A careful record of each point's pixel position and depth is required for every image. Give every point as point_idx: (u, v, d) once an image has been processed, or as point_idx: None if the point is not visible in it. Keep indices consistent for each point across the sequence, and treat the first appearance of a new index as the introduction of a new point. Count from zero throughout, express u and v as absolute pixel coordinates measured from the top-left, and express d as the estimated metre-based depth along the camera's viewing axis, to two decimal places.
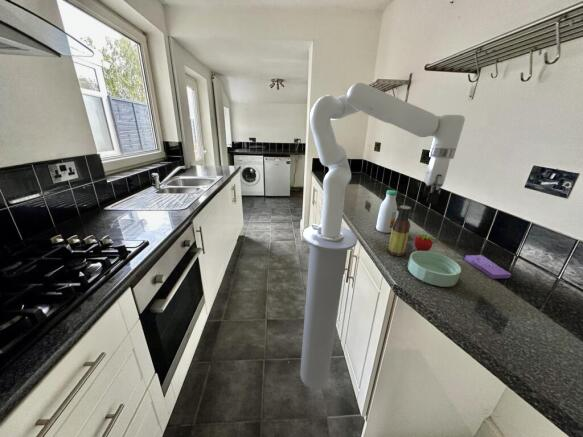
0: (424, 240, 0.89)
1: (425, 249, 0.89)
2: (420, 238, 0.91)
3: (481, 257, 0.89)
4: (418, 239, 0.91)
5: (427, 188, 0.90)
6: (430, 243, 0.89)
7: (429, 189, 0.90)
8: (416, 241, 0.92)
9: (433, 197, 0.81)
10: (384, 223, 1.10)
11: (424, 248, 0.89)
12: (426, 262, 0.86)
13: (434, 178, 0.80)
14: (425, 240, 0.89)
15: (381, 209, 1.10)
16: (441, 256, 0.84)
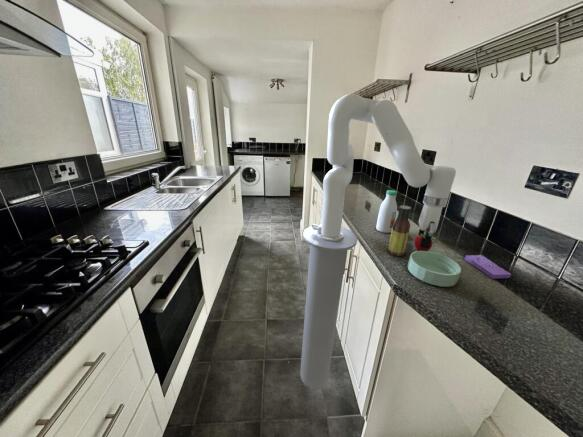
0: None
1: (425, 249, 0.89)
2: (420, 238, 0.91)
3: (481, 257, 0.89)
4: (418, 239, 0.91)
5: (421, 231, 0.94)
6: None
7: (423, 232, 0.94)
8: (416, 241, 0.92)
9: (426, 242, 0.87)
10: (384, 223, 1.10)
11: (424, 248, 0.89)
12: (426, 262, 0.86)
13: (427, 224, 0.84)
14: None
15: (381, 209, 1.10)
16: (441, 256, 0.84)
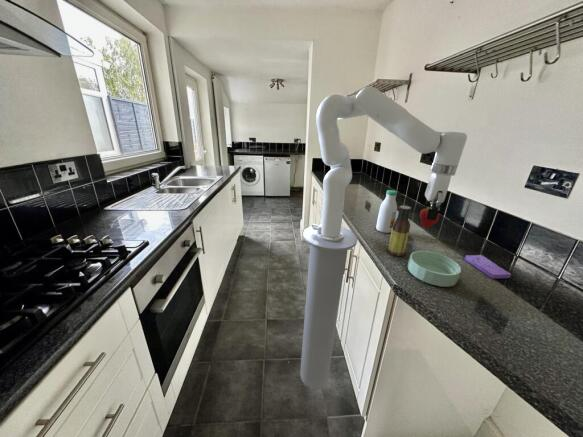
0: None
1: (431, 222, 0.85)
2: (426, 211, 0.87)
3: (481, 257, 0.89)
4: (424, 212, 0.87)
5: (427, 204, 0.90)
6: None
7: (429, 205, 0.90)
8: (422, 214, 0.87)
9: (432, 213, 0.83)
10: (384, 223, 1.10)
11: (430, 221, 0.85)
12: (426, 262, 0.86)
13: (435, 194, 0.80)
14: None
15: (381, 209, 1.10)
16: (441, 256, 0.84)
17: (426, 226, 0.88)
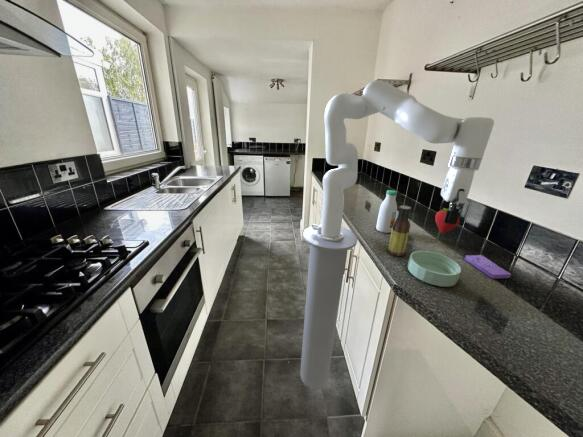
0: None
1: (450, 226, 0.72)
2: (444, 213, 0.73)
3: (481, 257, 0.89)
4: (441, 214, 0.73)
5: (444, 205, 0.77)
6: None
7: (446, 206, 0.76)
8: (438, 217, 0.74)
9: (452, 216, 0.69)
10: (384, 223, 1.10)
11: (449, 225, 0.72)
12: (426, 262, 0.86)
13: (455, 193, 0.67)
14: None
15: (381, 209, 1.10)
16: (441, 256, 0.84)
17: (443, 231, 0.75)
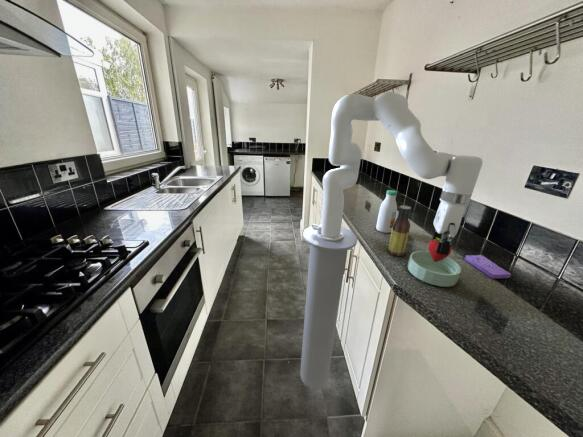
0: None
1: (442, 256, 0.75)
2: (436, 243, 0.76)
3: (481, 257, 0.89)
4: (434, 244, 0.76)
5: (437, 234, 0.79)
6: None
7: (439, 235, 0.79)
8: (431, 246, 0.77)
9: (444, 248, 0.72)
10: (384, 223, 1.10)
11: (441, 255, 0.75)
12: (426, 262, 0.86)
13: (446, 226, 0.70)
14: None
15: (381, 209, 1.10)
16: None
17: (436, 260, 0.77)
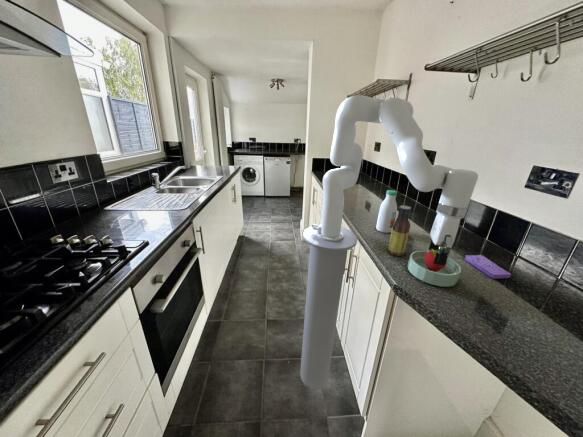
0: None
1: (438, 268, 0.76)
2: (432, 255, 0.78)
3: (481, 257, 0.89)
4: (430, 256, 0.78)
5: None
6: None
7: None
8: (427, 258, 0.79)
9: (441, 258, 0.73)
10: (384, 223, 1.10)
11: (437, 267, 0.76)
12: None
13: (442, 238, 0.71)
14: None
15: (381, 209, 1.10)
16: None
17: None
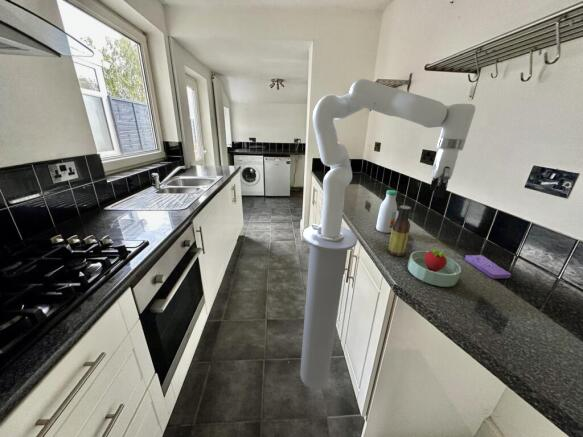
0: (437, 257, 0.76)
1: (438, 268, 0.76)
2: (432, 255, 0.78)
3: (481, 257, 0.89)
4: (430, 256, 0.78)
5: (434, 182, 0.87)
6: (444, 261, 0.76)
7: (436, 183, 0.87)
8: (427, 258, 0.79)
9: (440, 190, 0.78)
10: (384, 223, 1.10)
11: (437, 267, 0.76)
12: None
13: (441, 170, 0.77)
14: (438, 257, 0.76)
15: (381, 209, 1.10)
16: None
17: None
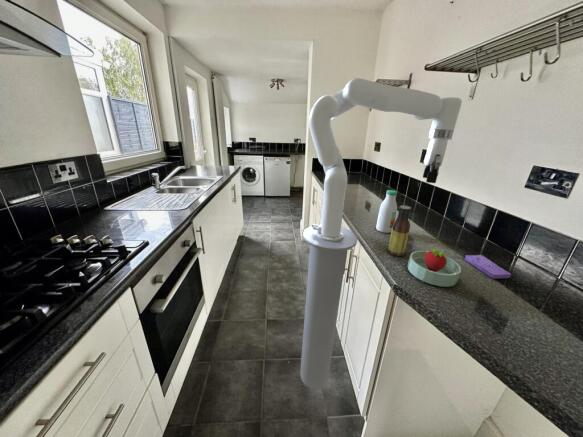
0: (437, 257, 0.76)
1: (438, 268, 0.76)
2: (432, 255, 0.78)
3: (481, 257, 0.89)
4: (430, 256, 0.78)
5: (426, 169, 0.95)
6: (444, 261, 0.76)
7: (428, 170, 0.95)
8: (427, 258, 0.79)
9: (432, 176, 0.87)
10: (384, 223, 1.10)
11: (437, 267, 0.76)
12: None
13: (433, 158, 0.85)
14: (438, 257, 0.76)
15: (381, 209, 1.10)
16: None
17: None
